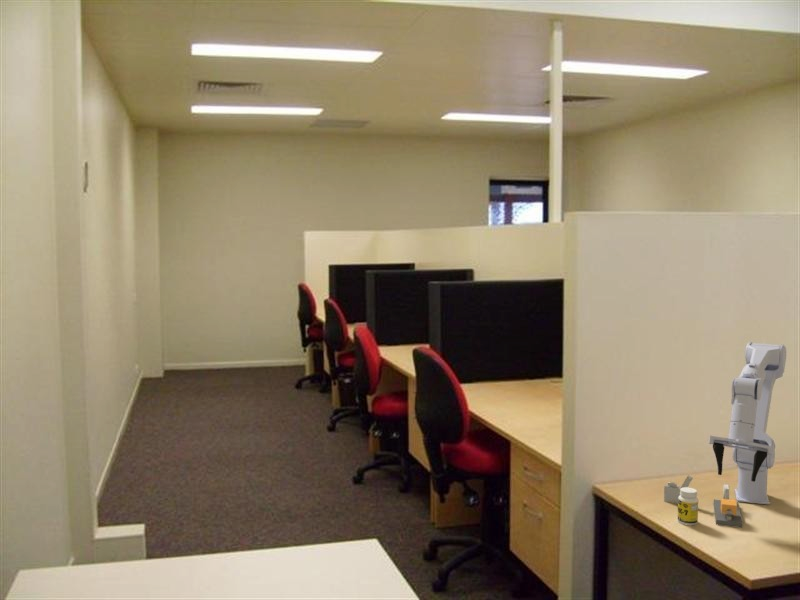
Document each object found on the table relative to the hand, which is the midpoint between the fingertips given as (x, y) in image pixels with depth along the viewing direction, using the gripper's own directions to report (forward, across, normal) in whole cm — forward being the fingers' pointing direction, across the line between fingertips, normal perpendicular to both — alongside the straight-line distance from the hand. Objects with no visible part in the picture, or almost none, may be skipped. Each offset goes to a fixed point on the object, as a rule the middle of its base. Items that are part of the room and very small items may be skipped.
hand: (736, 477), depth 186 cm
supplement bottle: (+13, -10, +2) cm, 17 cm away
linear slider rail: (+9, 0, +9) cm, 13 cm away
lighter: (+9, -12, +14) cm, 21 cm away
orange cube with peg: (+9, 0, +4) cm, 9 cm away
